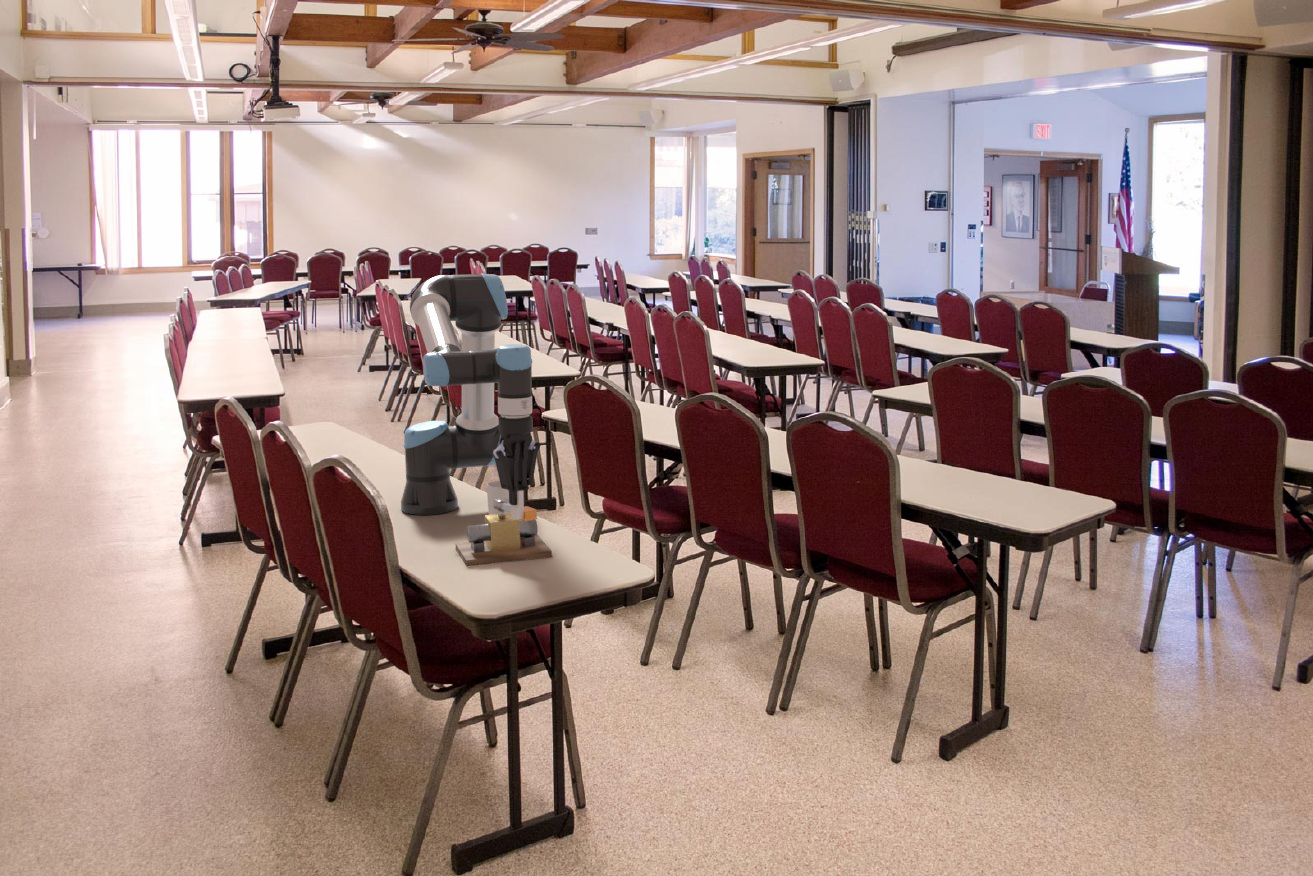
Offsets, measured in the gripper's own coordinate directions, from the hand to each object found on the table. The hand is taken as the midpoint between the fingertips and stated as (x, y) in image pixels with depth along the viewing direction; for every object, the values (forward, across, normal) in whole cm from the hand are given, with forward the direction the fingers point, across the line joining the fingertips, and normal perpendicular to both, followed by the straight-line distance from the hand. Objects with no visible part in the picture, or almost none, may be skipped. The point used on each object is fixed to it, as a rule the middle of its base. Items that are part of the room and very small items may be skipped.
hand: (517, 517), depth 254 cm
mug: (+12, +18, +27) cm, 34 cm away
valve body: (+10, +4, +10) cm, 15 cm away
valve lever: (+1, +3, +5) cm, 6 cm away
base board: (+12, +4, +10) cm, 16 cm away
